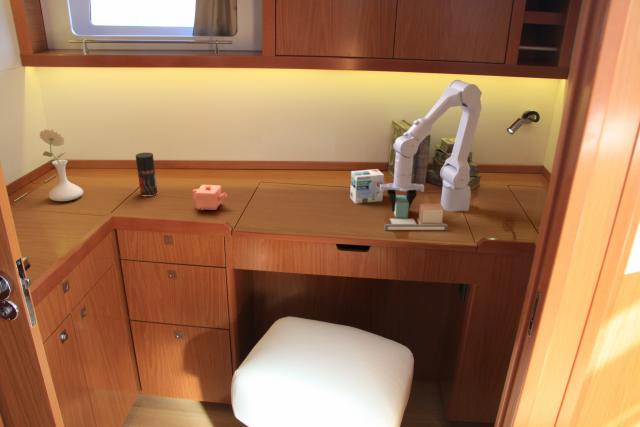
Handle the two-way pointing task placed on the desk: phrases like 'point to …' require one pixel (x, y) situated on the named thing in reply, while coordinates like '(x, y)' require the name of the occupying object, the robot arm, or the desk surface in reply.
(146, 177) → the deodorant
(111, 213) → the desk surface
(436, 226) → the shelf board
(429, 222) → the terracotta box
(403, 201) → the teal box
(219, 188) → the pink cube teapot
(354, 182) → the light bulb box
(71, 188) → the flower in vase
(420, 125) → the robot arm
